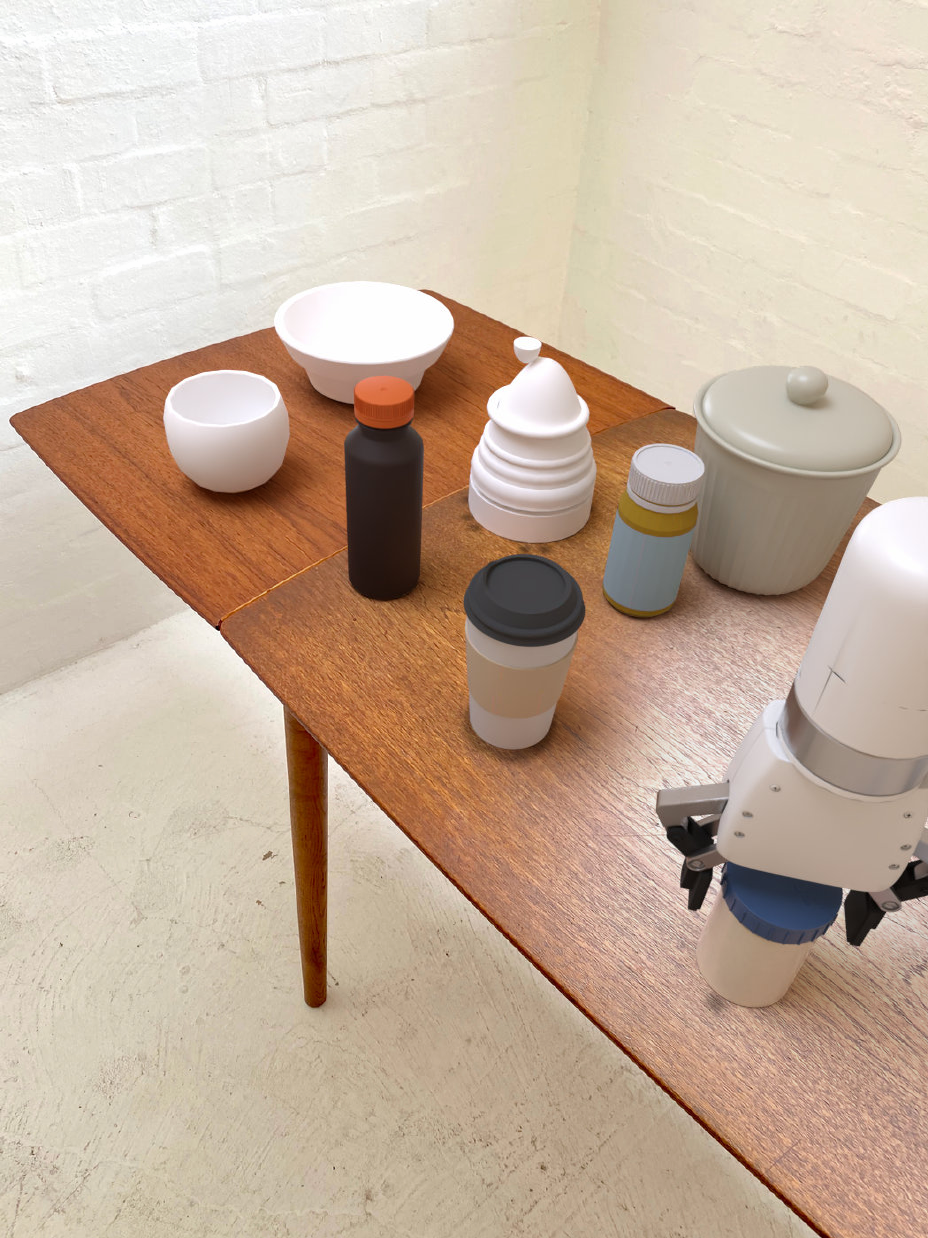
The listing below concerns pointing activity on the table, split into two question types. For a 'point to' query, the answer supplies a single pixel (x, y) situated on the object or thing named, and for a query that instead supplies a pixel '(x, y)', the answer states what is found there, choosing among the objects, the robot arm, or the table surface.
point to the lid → (779, 904)
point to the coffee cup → (519, 646)
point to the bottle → (653, 530)
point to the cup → (227, 429)
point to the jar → (745, 960)
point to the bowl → (363, 334)
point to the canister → (782, 472)
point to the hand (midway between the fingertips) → (771, 907)
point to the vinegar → (384, 489)
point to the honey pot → (534, 455)
